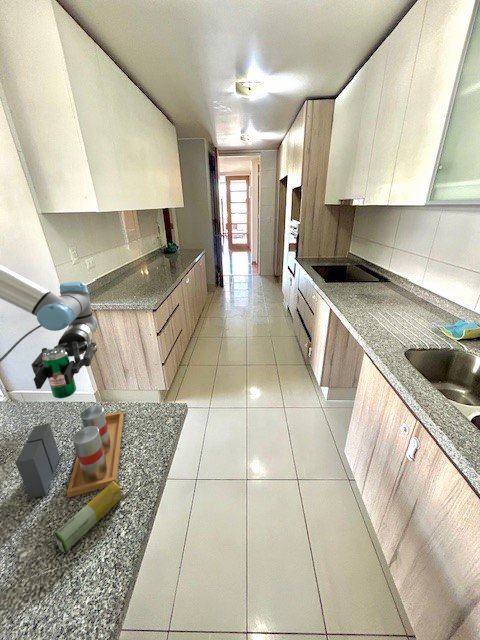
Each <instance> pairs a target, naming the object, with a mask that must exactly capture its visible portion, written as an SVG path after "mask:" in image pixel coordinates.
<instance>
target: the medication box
mask: <svg viewBox="0 0 480 640" xmlns="http://www.w3.org/2000/svg"><path fill="white" fill-rule="evenodd" d="M122 498H123V496H122V490H121V486H120V485H119V484H118V482H117V483H115V482H114V481H113V482H112V483H110V484H109V485H108V486H107V487H104V488H103V489H102V490H101V491H100V492H99V493H98V494H97V495H95V496H94V497H93V498H92V499H91V500H90V501H89V502H88V503H87V504H85V506H83V507H82V508H81V509H80V510H79V511H78V512H77V513H76V514H74V515H73V516H72V517H71V518H70V519H69V520H68V521H67V522H65V523H64V524H63V525H62V526H61V527H60V528H59V529H58V530H57V531H55V532H54V533H53V537H54V538H55V542H56V545H57V547H58V549H59V550H60V551H61V552H62V553H63V554H65V553H66V552H68V551H69V550H70V549H71V548H72V547H73V546H74V545H75V544H76V543H77V542H78V541H79V540H80V539H81V538H82V537H83V536H84V535H85V534H86V533H88V532H89V530H91V529H92V528H93V527H94V525H96V523H98V522H99V521H100V520H101V519H102V518H103V517H104V516H105V515H106V514H107V513H108V512H109V511H110V510H112V508H113V507H114V506H115V505H116V504H118V502H120V500H121V499H122Z"/></svg>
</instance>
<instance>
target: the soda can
mask: <svg viewBox="0 0 480 640" xmlns="http://www.w3.org/2000/svg"><path fill="white" fill-rule="evenodd" d="M42 360H43V363H44V367H45V370H46V374H47V377H48V378H47V380H48V384H49V387H50V390H51V394H52V397H53V398H55V399H60V400H61V399H66V398H69V397H71V396H73V395H74V394H75V393H76V391H77V385H76V381H75V377H74V376H73V378H72V380H71V383H70V384H67V385H66V382H65V379H64V373H65V371H66V369H67V367H68V365H69V363H70V361H71V360H70V357H68V353H67V352H66V351H65V349H64V348H54V347H53V348H49V350H47V351H45V352H44V353H43V358H42Z"/></svg>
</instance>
